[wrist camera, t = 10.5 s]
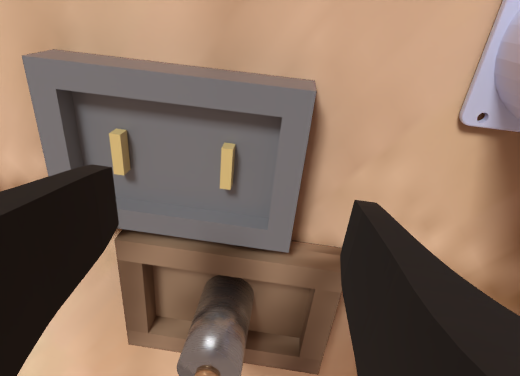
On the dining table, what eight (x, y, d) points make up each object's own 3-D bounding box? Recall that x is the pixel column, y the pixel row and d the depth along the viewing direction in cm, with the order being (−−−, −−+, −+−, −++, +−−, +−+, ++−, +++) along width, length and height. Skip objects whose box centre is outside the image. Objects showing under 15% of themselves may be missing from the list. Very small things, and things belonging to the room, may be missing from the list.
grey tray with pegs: (314, 80, 18) (316, 94, 15) (289, 229, 22) (288, 259, 20) (53, 49, 18) (12, 57, 16) (80, 199, 23) (52, 225, 20)
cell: (244, 270, 23) (225, 357, 18) (260, 308, 25) (247, 399, 19) (196, 278, 24) (163, 363, 18) (214, 314, 26) (189, 403, 20)
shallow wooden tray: (342, 248, 23) (346, 273, 21) (316, 346, 27) (317, 374, 25) (131, 218, 23) (114, 239, 21) (141, 318, 28) (128, 344, 26)
